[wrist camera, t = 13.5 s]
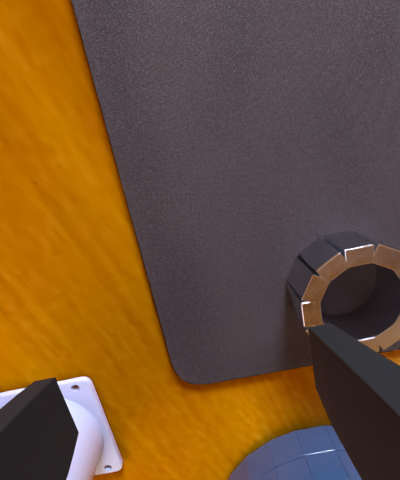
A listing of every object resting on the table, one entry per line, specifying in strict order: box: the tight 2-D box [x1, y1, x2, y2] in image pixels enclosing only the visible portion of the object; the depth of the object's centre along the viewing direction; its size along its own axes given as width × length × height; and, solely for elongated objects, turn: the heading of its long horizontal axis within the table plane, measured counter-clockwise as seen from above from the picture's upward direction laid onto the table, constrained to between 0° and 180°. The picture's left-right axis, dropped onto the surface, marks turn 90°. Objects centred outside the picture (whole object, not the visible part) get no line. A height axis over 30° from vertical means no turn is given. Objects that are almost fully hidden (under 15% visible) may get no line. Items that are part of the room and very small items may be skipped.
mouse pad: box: [71, 0, 400, 384], centre depth 16 cm, size 25×21×1 cm
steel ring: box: [286, 231, 400, 352], centre depth 16 cm, size 6×6×3 cm
